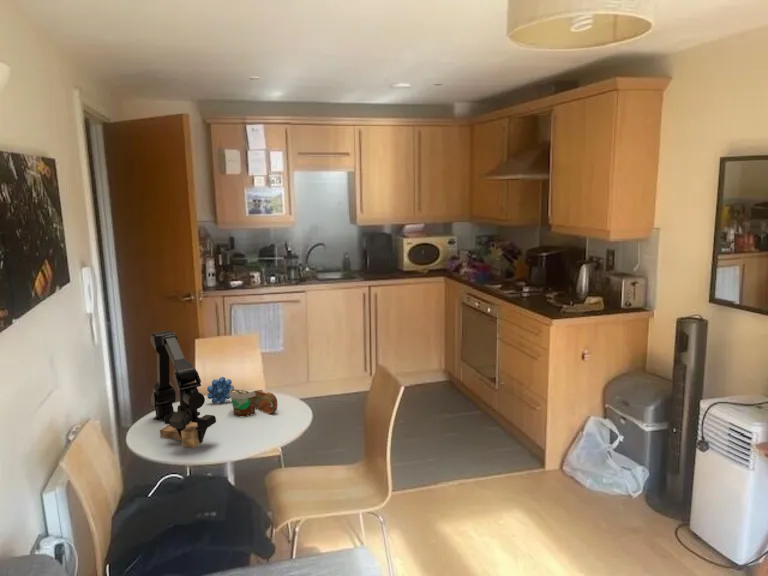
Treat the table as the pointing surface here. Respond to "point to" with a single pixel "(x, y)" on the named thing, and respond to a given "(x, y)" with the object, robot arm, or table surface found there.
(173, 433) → the walnut board
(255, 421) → the table surface
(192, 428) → the oak block
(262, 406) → the tin
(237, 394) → the food container
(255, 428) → the table surface
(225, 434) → the table surface
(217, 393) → the grapes
